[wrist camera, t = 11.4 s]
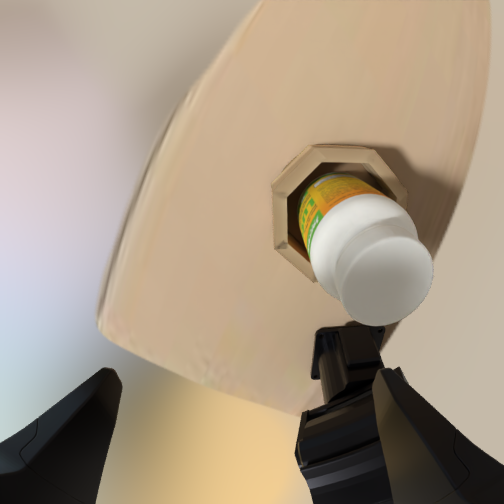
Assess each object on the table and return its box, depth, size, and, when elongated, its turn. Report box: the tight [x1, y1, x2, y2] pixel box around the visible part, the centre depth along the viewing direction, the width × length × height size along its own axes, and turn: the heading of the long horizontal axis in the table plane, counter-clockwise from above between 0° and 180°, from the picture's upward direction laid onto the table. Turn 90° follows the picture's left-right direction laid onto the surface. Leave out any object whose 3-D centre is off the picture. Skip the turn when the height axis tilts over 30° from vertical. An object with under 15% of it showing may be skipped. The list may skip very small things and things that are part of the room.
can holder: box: [271, 145, 408, 283], centre depth 17 cm, size 8×8×3 cm
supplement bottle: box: [297, 172, 434, 326], centre depth 14 cm, size 5×5×10 cm
